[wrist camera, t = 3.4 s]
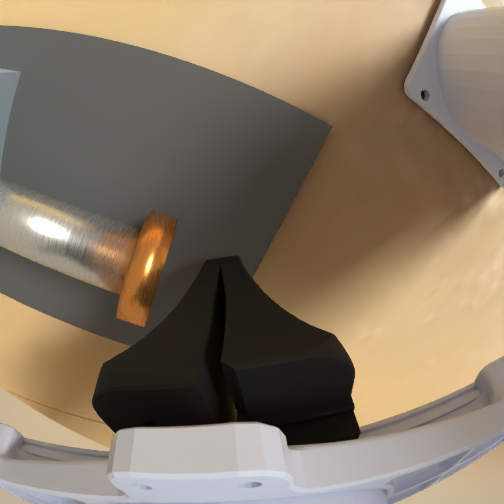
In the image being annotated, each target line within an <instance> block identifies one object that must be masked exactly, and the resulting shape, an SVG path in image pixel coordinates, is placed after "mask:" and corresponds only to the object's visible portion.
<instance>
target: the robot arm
mask: <svg viewBox="0 0 504 504" xmlns="http://www.w3.org/2000/svg"><path fill="white" fill-rule="evenodd" d="M422 90H423V91H424V93H425V97H424V99H422V98H421V91H422ZM404 91H405V93H406V95H407V96H408V97H409V98H410V99H411V100H413V101H414V102H415V103H416V104H418V105H419V106H420V107H421V108H422V109H424V110H425V111H426V112H427V113H428V114H430V115H431V116H432V117H433V118H434V119H435V120H436V121H438V122H439V123H440V124H441V125H442V126H443V127H444V128H445V129H446V130H447V131H449V132H450V133H451V134H452V135H453V136H454V137H455V138H456V139H457V140H458V141H459V142H460V143H461V144H462V145H463V146H464V147H465V148H466V149H467V150H468V151H469V152H470V153H471V154H472V155H473V156H474V157H475V158H476V159H477V160H478V161H479V162H480V163H481V165H482V166H483V167H484V168H485V169H486V170H487V171H488V172H489V173H490V174H491V176H492V177H493V178H494V179H495V180H496V181H497V183H498V184H499V185H500V186H501V187H502V188H504V7H493V8H487V7H486V6H485V5H484V4H483V2H482V1H481V0H441V2H440V5H439V7H438V10H437V12H436V14H435V17H434V19H433V21H432V24H431V26H430V28H429V30H428V33H427V35H426V37H425V39H424V42H423V44H422V46H421V48H420V50H419V53H418V55H417V57H416V59H415V61H414V63H413V65H412V68H411V70H410V72H409V74H408V76H407V78H406V80H405V83H404ZM354 378H355V368H354V366H353V363H352V361H351V359H350V357H349V355H348V353H347V352H346V350H345V349H344V347H343V346H342V344H341V343H340V341H339V340H338V339H337V337H336V336H335V335H334V334H332V333H329V332H327V331H324V330H321V329H319V328H316V327H314V326H311V325H309V324H307V323H305V322H303V321H301V320H300V319H298V318H296V317H295V316H293V315H292V314H290V313H289V312H287V311H286V310H284V309H283V308H282V307H280V306H279V305H278V304H277V303H275V302H274V301H273V300H272V299H271V298H270V297H269V296H268V295H267V294H266V293H265V292H264V291H263V290H262V289H261V288H260V287H259V286H258V285H257V284H256V282H255V281H254V280H253V279H252V277H251V276H250V275H249V273H248V272H247V270H246V269H245V267H244V265H243V263H242V261H241V257H239V256H238V255H235V256H229V257H222V258H216V259H210V260H206V261H205V263H204V264H203V266H202V268H201V270H200V271H199V273H198V275H197V277H196V278H195V280H194V281H193V283H192V285H191V286H190V288H189V289H188V291H187V292H186V294H185V295H184V296H183V298H182V299H181V300H180V302H179V303H178V304H177V306H176V307H175V308H174V309H173V310H172V311H171V313H170V314H169V315H168V316H167V317H166V318H165V319H164V320H163V321H162V322H161V323H160V324H159V325H157V326H156V327H155V328H154V329H153V330H152V331H151V332H150V333H149V334H147V335H146V336H145V337H144V338H142V339H141V340H140V341H138V342H137V343H136V344H134V345H133V346H131V347H130V348H128V349H127V350H125V351H124V352H122V353H120V354H119V355H117V356H115V357H114V358H112V359H110V360H109V361H107V362H105V363H103V366H102V368H101V371H100V374H99V377H98V380H97V384H96V388H95V392H94V395H93V399H92V404H93V408H94V409H95V411H96V412H97V414H98V415H99V416H100V418H101V419H102V420H103V421H104V422H105V423H106V424H107V425H108V426H109V427H110V428H111V429H112V430H113V431H114V432H115V434H114V435H113V437H112V440H111V446H110V452H106V451H97V450H89V449H80V448H73V447H67V446H62V445H56V444H51V443H45V442H40V441H36V440H32V439H27V438H24V437H23V436H22V435H21V434H20V433H19V432H18V431H17V430H16V429H14V428H13V427H11V426H9V425H6V424H2V423H0V487H1V488H3V489H4V490H6V491H8V492H9V493H11V494H13V495H14V496H16V497H18V498H20V499H23V500H25V501H28V502H31V503H33V504H393V503H396V502H398V501H400V500H403V499H405V498H407V497H410V496H411V495H414V494H416V493H418V492H420V491H422V490H424V489H426V488H428V487H430V486H432V485H434V484H436V483H438V482H440V481H442V480H444V479H446V478H447V477H449V476H451V475H453V474H454V473H456V472H458V471H460V470H461V469H463V468H465V467H466V466H468V465H470V464H471V463H473V462H474V461H476V460H477V459H479V458H481V457H482V456H484V455H485V454H487V453H488V452H490V451H491V450H493V449H494V448H496V447H497V446H499V445H500V444H502V443H503V442H504V356H502V357H501V358H499V359H497V360H495V361H493V362H491V363H490V364H488V365H486V366H485V367H484V368H483V369H482V370H481V371H480V372H479V374H478V376H477V377H476V379H475V382H474V383H472V384H470V385H468V386H466V387H464V388H462V389H460V390H457V391H455V392H453V393H451V394H449V395H447V396H444V397H442V398H440V399H437V400H435V401H433V402H430V403H428V404H425V405H423V406H420V407H418V408H415V409H413V410H410V411H407V412H405V413H402V414H399V415H396V416H393V417H390V418H387V419H384V420H381V421H378V422H375V423H372V424H368V425H365V426H362V427H359V425H358V423H357V420H356V417H355V414H354V411H353V410H354V408H355V407H354V403H353V400H352V397H351V393H352V388H353V383H354ZM236 413H237V415H236Z"/></svg>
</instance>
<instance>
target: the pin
mask: <svg viewBox="0 0 504 504" xmlns="http://www.w3.org/2000/svg"><path fill="white" fill-rule="evenodd" d="M178 220H179V219H177V218H174V217H171V216H169V215H166V214H163V213H160V212H158V211H155V210H151V211H150V212H149V214H148V216H147V218H146V220H145V222H144V225H143V227H142V229H141V230H139V229H137V228H134V227H131V226H128V225H126V224H123V223H120V222H117V221H115V220H112V219H109V218H106V217H104V216H101V215H98V214H95V213H93V212H90V211H87V210H84V209H82V208H79V207H76V206H74V205H71V204H68V203H65V202H63V201H60V200H57V199H55V198H52V197H49V196H47V195H44V194H41V193H39V192H36V191H33V190H31V189H28V188H26V187H23V186H20V185H18V184H15V183H12V182H10V181H7V180H5V179H2V178H0V246H1V247H3V248H6V249H8V250H10V251H12V252H14V253H17V254H19V255H21V256H23V257H25V258H28V259H30V260H32V261H35V262H37V263H39V264H42V265H44V266H46V267H49V268H51V269H53V270H56V271H58V272H61V273H63V274H66V275H68V276H71V277H73V278H76V279H78V280H81V281H84V282H86V283H89V284H91V285H94V286H97V287H99V288H102V289H105V290H107V291H110V292H113V293H116V294H119V295H120V298H119V302H118V307H117V314H116V318H118V319H121V320H124V321H127V322H130V323H133V324H136V325H139V326H142V327H144V326H145V324H146V321H147V318H148V315H149V311H150V308H151V305H152V302H153V299H154V296H155V292H156V289H157V286H158V283H159V280H160V277H161V273H162V270H163V267H164V264H165V261H166V258H167V255H168V252H169V249H170V246H171V242H172V239H173V236H174V233H175V230H176V227H177V224H178Z"/></svg>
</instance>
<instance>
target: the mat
mask: <svg viewBox="0 0 504 504" xmlns="http://www.w3.org/2000/svg"><path fill="white" fill-rule="evenodd" d="M0 68H1V69H7V70H13V71H18V72H21V74H20V77H19V81H18V84H17V88H16V92H15V95H14V99H13V103H12V107H11V112H10V116H9V121H8V126H7V131H6V137H5V142H4V149H3V155H2V163H1V171H0V178H2V179H5V180H7V181H10V182H12V183H15V184H18V185H20V186H23V187H26V188H28V189H31V190H33V191H36V192H39V193H41V194H44V195H47V196H49V197H52V198H55V199H57V200H60V201H63V202H65V203H68V204H71V205H74V206H76V207H79V208H82V209H84V210H87V211H90V212H93V213H95V214H98V215H101V216H104V217H106V218H109V219H112V220H115V221H117V222H120V223H123V224H126V225H128V226H131V227H134V228H137V229H139V230H141V229H142V227H143V225H144V222H145V220H146V218H147V216H148V214H149V212H150V211H151V210H155V211H158V212H160V213H163V214H166V215H169V216H171V217H174V218H177V219H179V220H178V224H177V227H176V230H175V233H174V236H173V239H172V242H171V246H170V249H169V252H168V255H167V258H166V261H165V264H164V267H163V270H162V273H161V277H160V280H159V283H158V286H157V289H156V292H155V296H154V299H153V302H152V305H151V308H150V311H149V315H148V318H147V321H146V324H145V326H144V327H142V326H139V325H136V324H133V323H130V322H127V321H124V320H121V319H118V318H116V314H117V307H118V302H119V298H120V295H119V294H116V293H113V292H110V291H107V290H105V289H102V288H99V287H97V286H94V285H91V284H89V283H86V282H84V281H81V280H78V279H76V278H73V277H71V276H68V275H66V274H63V273H61V272H58V271H56V270H53V269H51V268H49V267H46V266H44V265H42V264H39V263H37V262H35V261H32V260H30V259H28V258H25V257H23V256H21V255H19V254H17V253H14V252H12V251H10V250H8V249H6V248H3V247H1V246H0V293H2V294H4V295H6V296H8V297H10V298H13V299H15V300H17V301H19V302H21V303H23V304H25V305H27V306H29V307H32V308H34V309H36V310H38V311H41V312H43V313H45V314H47V315H50V316H52V317H54V318H57V319H59V320H62V321H64V322H67V323H69V324H72V325H74V326H77V327H79V328H82V329H84V330H87V331H90V332H92V333H95V334H98V335H100V336H103V337H106V338H109V339H112V340H115V341H118V342H121V343H124V344H127V345H130V346H133V345H134V344H136V343H137V342H138V341H140V340H141V339H142V338H144V337H145V336H146V335H147V334H149V333H150V332H151V331H152V330H153V329H154V328H155V327H156V326H157V325H159V324H160V323H161V322H162V321H163V320H164V319H165V318H166V317H167V316H168V315H169V314H170V313H171V311H172V310H173V309H174V308H175V307H176V306H177V304H178V303H179V302H180V300H181V299H182V298H183V296H184V295H185V294H186V292H187V291H188V289H189V288H190V286H191V285H192V283H193V281H194V280H195V278H196V277H197V275H198V273H199V271H200V270H201V268H202V266H203V264H204V263H205V261H206V260H210V259H216V258H222V257H229V256H235V255H238V256H239V257H241V261H242V263H243V265H244V267H245V269H246V270H247V272H248V273H249V275H250V276H251V277H253V275H254V274H255V272H256V270H257V268H258V266H259V264H260V262H261V261H262V259H263V257H264V255H265V253H266V251H267V249H268V248H269V246H270V244H271V242H272V240H273V238H274V236H275V235H276V233H277V231H278V229H279V227H280V225H281V223H282V221H283V220H284V218H285V216H286V214H287V212H288V210H289V208H290V206H291V205H292V203H293V201H294V199H295V197H296V195H297V193H298V191H299V189H300V188H301V186H302V184H303V182H304V180H305V178H306V176H307V174H308V172H309V170H310V169H311V167H312V165H313V163H314V161H315V159H316V157H317V155H318V153H319V151H320V150H321V148H322V146H323V144H324V142H325V140H326V138H327V136H328V134H329V132H330V130H331V128H332V126H330V125H329V124H327V123H325V122H323V121H321V120H320V119H318V118H316V117H314V116H312V115H310V114H308V113H306V112H304V111H302V110H300V109H298V108H296V107H294V106H292V105H290V104H288V103H286V102H284V101H282V100H280V99H278V98H276V97H274V96H272V95H269V94H267V93H265V92H263V91H261V90H258V89H256V88H254V87H251V86H249V85H247V84H244V83H242V82H240V81H237V80H235V79H232V78H230V77H227V76H225V75H222V74H220V73H217V72H214V71H212V70H209V69H206V68H204V67H201V66H198V65H195V64H192V63H189V62H187V61H184V60H181V59H177V58H174V57H171V56H168V55H165V54H161V53H158V52H155V51H151V50H148V49H144V48H140V47H137V46H133V45H129V44H125V43H121V42H117V41H112V40H108V39H103V38H98V37H93V36H88V35H83V34H77V33H71V32H65V31H58V30H50V29H42V28H32V27H20V26H0Z"/></svg>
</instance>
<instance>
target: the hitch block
mask: <svg viewBox="0 0 504 504" xmlns="http://www.w3.org/2000/svg"><path fill="white" fill-rule="evenodd" d="M20 74H21V72H18V71H13V70H7V69H1V68H0V171H1V163H2V155H3V149H4V142H5V137H6V131H7V126H8V121H9V116H10V112H11V107H12V103H13V99H14V95H15V92H16V88H17V84H18V81H19V77H20Z"/></svg>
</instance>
